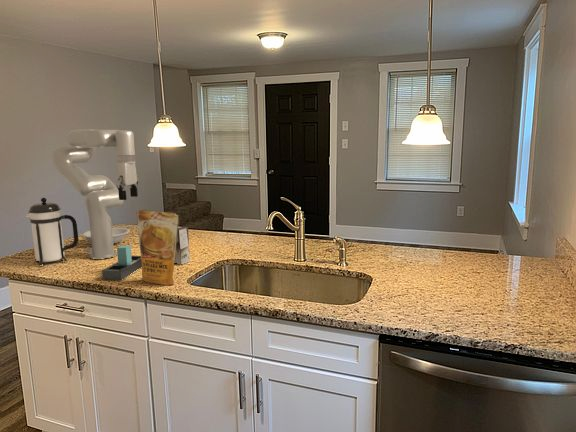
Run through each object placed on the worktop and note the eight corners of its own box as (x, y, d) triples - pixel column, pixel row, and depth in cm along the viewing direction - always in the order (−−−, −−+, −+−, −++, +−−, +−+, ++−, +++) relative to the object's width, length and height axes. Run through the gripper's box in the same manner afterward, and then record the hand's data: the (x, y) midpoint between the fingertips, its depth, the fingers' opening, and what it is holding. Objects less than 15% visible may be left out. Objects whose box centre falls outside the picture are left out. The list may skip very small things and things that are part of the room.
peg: (119, 273, 188) (116, 247, 186) (124, 270, 192) (121, 245, 190) (127, 273, 187) (125, 247, 185) (132, 270, 191) (130, 245, 189)
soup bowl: (72, 248, 231) (70, 235, 230) (103, 237, 254) (102, 226, 252) (111, 251, 224) (110, 238, 223) (140, 240, 247) (139, 228, 246)
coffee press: (55, 267, 197) (48, 200, 192) (24, 266, 200) (16, 199, 195) (81, 257, 214) (74, 194, 208) (52, 255, 217) (44, 194, 211)
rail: (102, 279, 179) (101, 269, 178) (129, 264, 200) (128, 255, 200) (121, 280, 178) (120, 270, 177) (146, 264, 199) (145, 255, 199)
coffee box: (191, 261, 203) (189, 227, 200) (181, 265, 197) (179, 229, 194) (175, 259, 207) (173, 225, 204) (165, 262, 202) (163, 228, 199)
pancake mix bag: (147, 276, 183) (142, 208, 178) (184, 282, 175) (180, 211, 170) (135, 280, 177) (129, 211, 172) (172, 287, 169) (167, 214, 164)
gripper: (128, 157, 203) (130, 195, 206) (106, 160, 186) (110, 200, 189) (143, 158, 202) (145, 195, 205) (123, 160, 185) (126, 201, 188)
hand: (128, 198), depth 197 cm, fingers open, 9 cm apart
